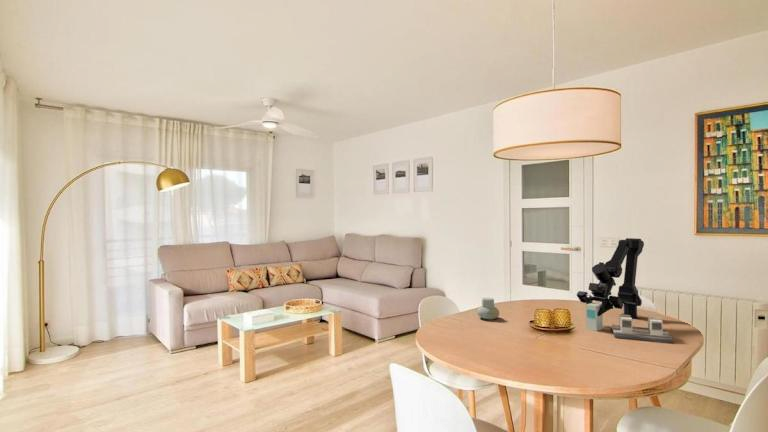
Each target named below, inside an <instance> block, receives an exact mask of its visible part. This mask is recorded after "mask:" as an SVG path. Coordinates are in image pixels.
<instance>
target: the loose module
mask: <svg viewBox="0 0 768 432" xmlns="http://www.w3.org/2000/svg"><path fill="white" fill-rule="evenodd" d="M601 305H602V303H595V302H592V303H590V304H586V303H585V318H586V319H585V323H586V324H585V325H586V328H585V329H586V330H588V331H589V330H590V331H595V332H597V331H600V330H603V329H604V328H603V327H604V326H603V325H604V324H603V323H604V321H603V320H604V319H603V314H602V315H600V316H598V315H597V314H598V311H599V309H600V307H601Z"/></svg>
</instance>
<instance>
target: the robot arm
mask: <svg viewBox="0 0 768 432" xmlns="http://www.w3.org/2000/svg"><path fill="white" fill-rule="evenodd" d="M617 243H618V245H617V246H616V249H615V251H614V252H613V255H612V256H611V259H609V260H608V261H606V262H605V263H604V262H598V264H597V263H596V264H595V265H593V266H592V267H591V271H592V273H593V275H594V276H595V278H596V280H597V281H599V282H598V283H595V282H594V283H593V282H589V284H588V287H587V288H588V289H587V290H588V291H591V292H590V293H591V294H590V293H588V292H587V291H582V290H579V291H578V292H577V293H576V297H577V299H578V300H579V301H580V302H581V303H582V304H585V305H586V304H590V303H593V301H594V302H599V303H600V302H601V304H602V305H601V307H600V309H599V311H598V314H597V315H598V316H600V315H603V314H605V313H606V312H608V311H610V310H614V308H615V309H617V310H619V309H620V310H622V309H623V313H621V315H630V316H631V318H632V319H640V316H638V307H641V306H642V305H643V301H642V299H641V297H640V295H639V290H638V288H637V286H636V280H637V279H636V277H637V276H636V275H637V270H638V269H637V266H638V257H639V256H640V255H641V254H642V252H643V248H644V245H645V242H644V240H642V239H641V238H633V237H632V238H631V237H630V238H629V237H626V238H625V239H619V240H618V242H617ZM624 261H625V267H624V276H623V277H624V278H623V283H622V285H619V287H618V292H617V296H615V295H612V289H613V287H614V286H615V287H616V285H617V284H616V279H618V278H620V277H621V276H622V273H623V267H622V264H623V263H624ZM614 278H616V279H614Z"/></svg>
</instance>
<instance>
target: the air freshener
mask: <svg viewBox="0 0 768 432" xmlns="http://www.w3.org/2000/svg"><path fill="white" fill-rule="evenodd" d="M476 313H477V316H478V317H480V318H481V319H483V320H488V321H493V320H495V319H496V318H498V317H499V316H500V310H499V309H498V308H497V307H496V306H495V299H494V298H493V297H482V299H481V306H480V307H479V308H478V309H477V311H476Z"/></svg>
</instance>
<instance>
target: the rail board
mask: <svg viewBox="0 0 768 432" xmlns="http://www.w3.org/2000/svg"><path fill="white" fill-rule="evenodd" d="M663 324H664V323H663V320H662V319H661V317H660V316H659V317H657V316H647V327H642V326H633V318H631V316H630V315H622V313H621V314H619V325H618V324H611V330H612V333H613V337H614V338H615V339H623V340H633V341H644V342H655V343H663V344H664V343H665V344H674V340H673V336H671V335H670V333H669V332H668V330H667V329H666V328H663Z"/></svg>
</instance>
